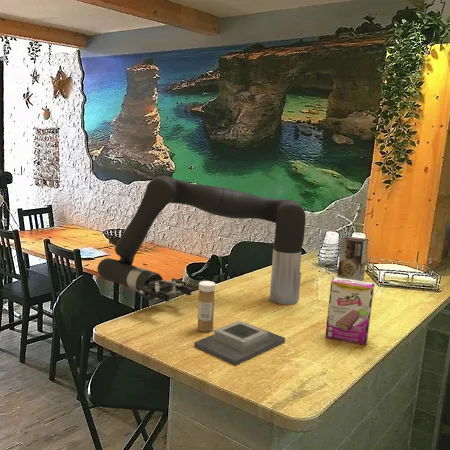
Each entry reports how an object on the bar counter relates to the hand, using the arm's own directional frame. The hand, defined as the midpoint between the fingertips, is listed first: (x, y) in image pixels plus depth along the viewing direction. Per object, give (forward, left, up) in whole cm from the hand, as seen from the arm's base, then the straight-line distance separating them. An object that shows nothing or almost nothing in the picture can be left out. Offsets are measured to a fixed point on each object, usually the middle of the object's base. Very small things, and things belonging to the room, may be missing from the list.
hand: (179, 295), depth 143 cm
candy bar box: (-25, +41, -7) cm, 48 cm away
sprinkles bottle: (0, +11, -7) cm, 13 cm away
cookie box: (-79, +13, -7) cm, 80 cm away
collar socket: (0, +24, -7) cm, 25 cm away
